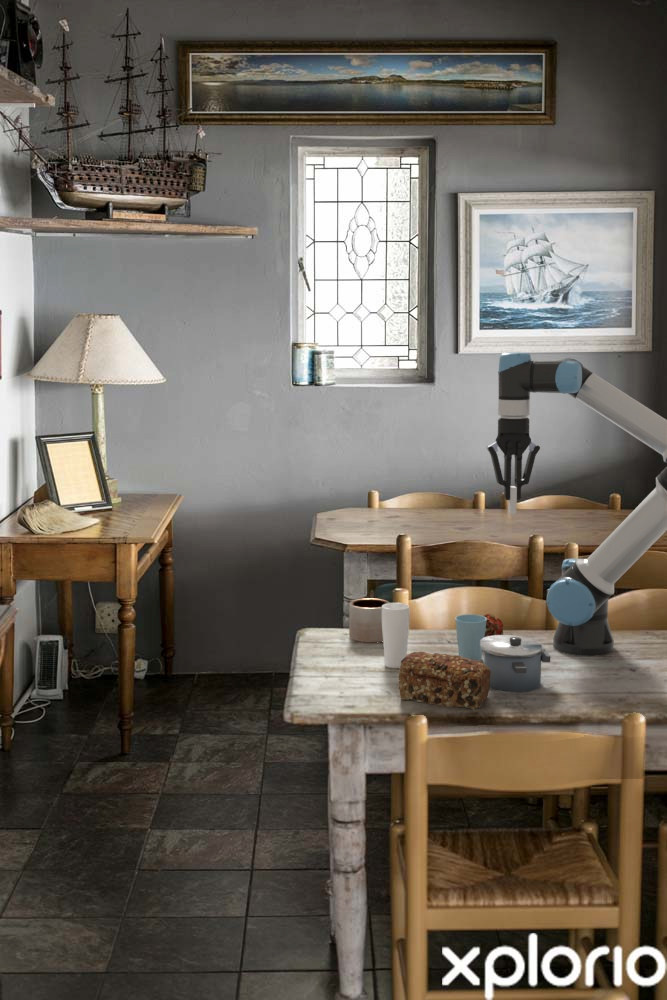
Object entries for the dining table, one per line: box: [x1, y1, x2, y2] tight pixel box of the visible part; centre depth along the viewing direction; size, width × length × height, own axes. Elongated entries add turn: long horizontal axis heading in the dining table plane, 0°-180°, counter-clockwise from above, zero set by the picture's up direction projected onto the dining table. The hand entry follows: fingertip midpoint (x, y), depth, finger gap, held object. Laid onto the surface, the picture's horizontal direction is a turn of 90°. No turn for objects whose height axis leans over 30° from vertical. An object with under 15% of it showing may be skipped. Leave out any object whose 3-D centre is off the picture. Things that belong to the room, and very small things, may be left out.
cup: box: [454, 613, 487, 661], centre depth 277 cm, size 8×8×10 cm
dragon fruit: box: [483, 613, 504, 637], centre depth 290 cm, size 8×8×12 cm
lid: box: [480, 634, 546, 658], centre depth 258 cm, size 14×14×2 cm
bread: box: [397, 651, 491, 710], centre depth 249 cm, size 19×11×10 cm, turn 67°
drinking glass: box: [382, 602, 411, 669], centre depth 271 cm, size 7×7×15 cm
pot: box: [483, 648, 551, 694], centre depth 259 cm, size 15×21×8 cm
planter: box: [348, 597, 391, 644], centre depth 295 cm, size 11×11×10 cm
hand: (512, 512), depth 274 cm, fingers closed
